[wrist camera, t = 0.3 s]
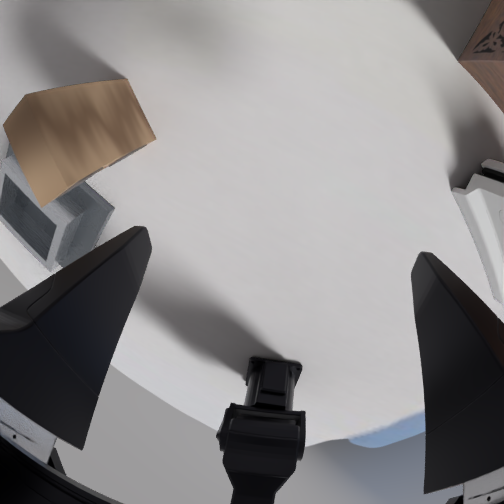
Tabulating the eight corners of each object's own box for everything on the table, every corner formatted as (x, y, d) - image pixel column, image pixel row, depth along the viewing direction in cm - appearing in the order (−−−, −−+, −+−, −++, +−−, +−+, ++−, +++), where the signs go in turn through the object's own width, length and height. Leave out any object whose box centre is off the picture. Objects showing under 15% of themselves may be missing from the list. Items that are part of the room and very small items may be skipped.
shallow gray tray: (114, 208, 26) (91, 227, 22) (81, 275, 32) (63, 295, 28) (21, 122, 22) (-6, 132, 18) (3, 198, 28) (-17, 212, 24)
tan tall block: (157, 140, 22) (68, 188, 13) (130, 155, 23) (42, 209, 14) (127, 78, 19) (25, 94, 10) (102, 97, 20) (2, 125, 11)
